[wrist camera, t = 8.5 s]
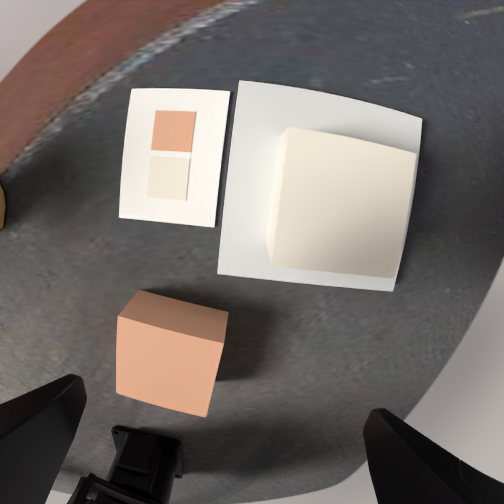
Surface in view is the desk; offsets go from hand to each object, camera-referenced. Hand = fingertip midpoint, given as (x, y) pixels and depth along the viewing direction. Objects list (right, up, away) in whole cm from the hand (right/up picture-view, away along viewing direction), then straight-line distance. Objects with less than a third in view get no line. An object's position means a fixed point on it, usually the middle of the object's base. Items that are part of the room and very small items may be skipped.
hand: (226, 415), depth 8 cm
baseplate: (+5, +8, +10) cm, 14 cm away
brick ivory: (+5, +8, +9) cm, 13 cm away
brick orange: (-4, -1, +12) cm, 13 cm away
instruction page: (-4, +10, +9) cm, 14 cm away
